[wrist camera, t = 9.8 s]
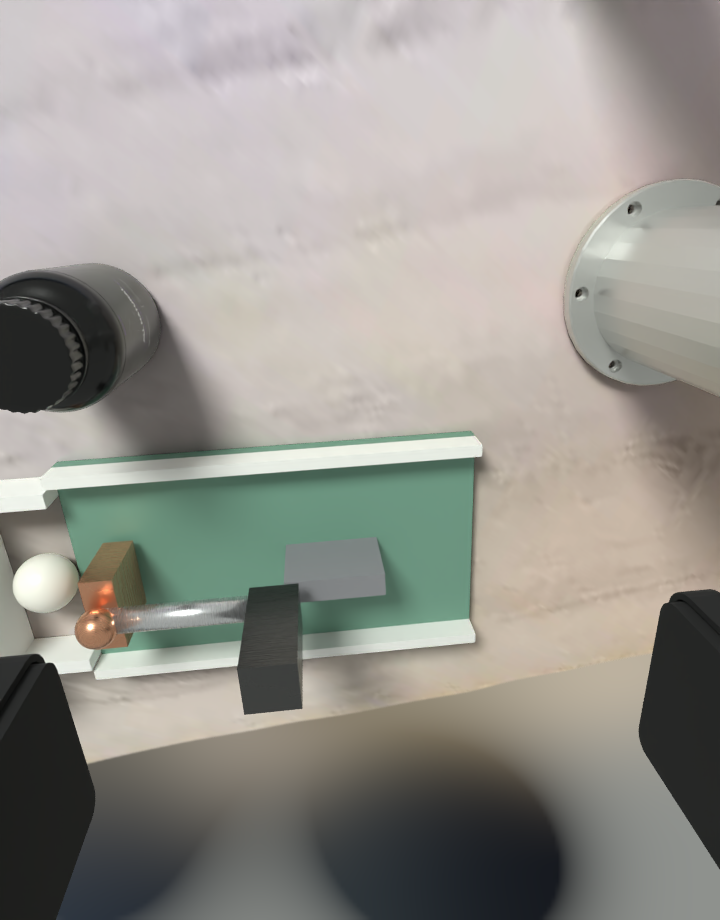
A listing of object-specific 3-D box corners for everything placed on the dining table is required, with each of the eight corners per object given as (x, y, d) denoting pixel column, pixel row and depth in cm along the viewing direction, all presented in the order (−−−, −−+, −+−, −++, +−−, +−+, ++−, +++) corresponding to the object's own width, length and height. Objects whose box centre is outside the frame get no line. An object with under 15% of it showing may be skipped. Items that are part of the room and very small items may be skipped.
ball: (-7, 577, 37) (20, 545, 40) (11, 628, 38) (35, 593, 42) (59, 570, 37) (79, 539, 41) (73, 621, 39) (92, 587, 42)
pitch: (470, 431, 40) (497, 463, 35) (465, 619, 46) (487, 672, 41) (-45, 469, 38) (-104, 511, 33) (20, 661, 44) (-20, 724, 39)
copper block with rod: (297, 526, 40) (295, 647, 29) (303, 587, 42) (303, 722, 31) (99, 543, 39) (15, 674, 28) (115, 604, 41) (42, 750, 30)
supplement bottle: (184, 309, 36) (131, 348, 25) (127, 395, 37) (52, 467, 26) (81, 235, 34) (-29, 240, 22) (25, 329, 35) (-103, 378, 24)
